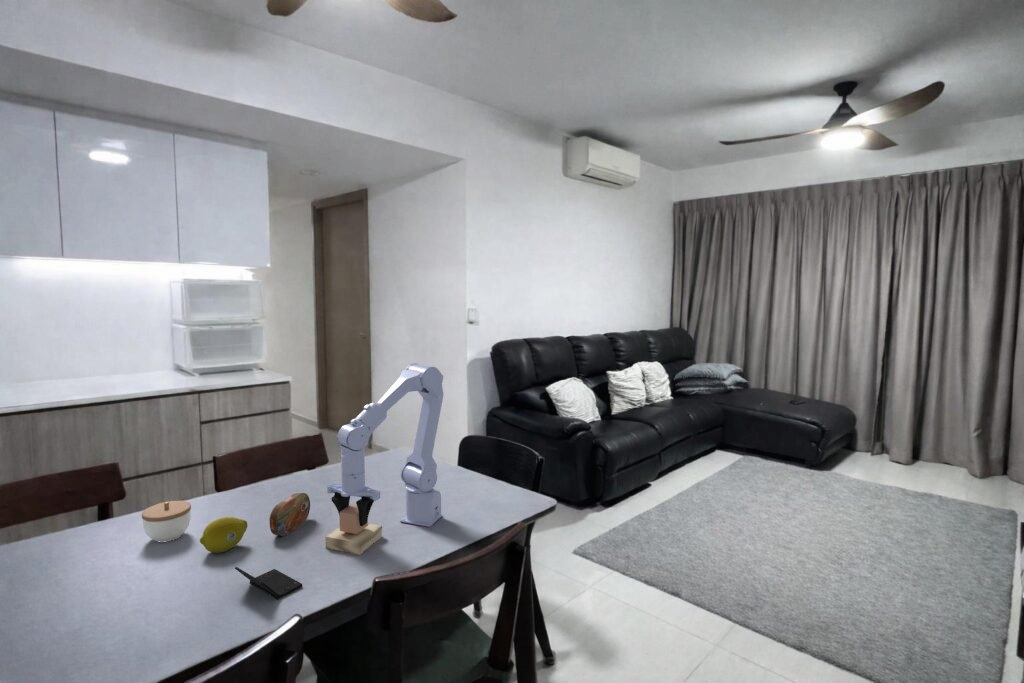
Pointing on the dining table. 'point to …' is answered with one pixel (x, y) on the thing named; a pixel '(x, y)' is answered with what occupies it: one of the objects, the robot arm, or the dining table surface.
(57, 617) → the dining table surface
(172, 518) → the lidded jar
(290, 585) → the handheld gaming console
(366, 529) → the birch block
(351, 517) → the terracotta cube
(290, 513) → the tin
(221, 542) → the lemon
